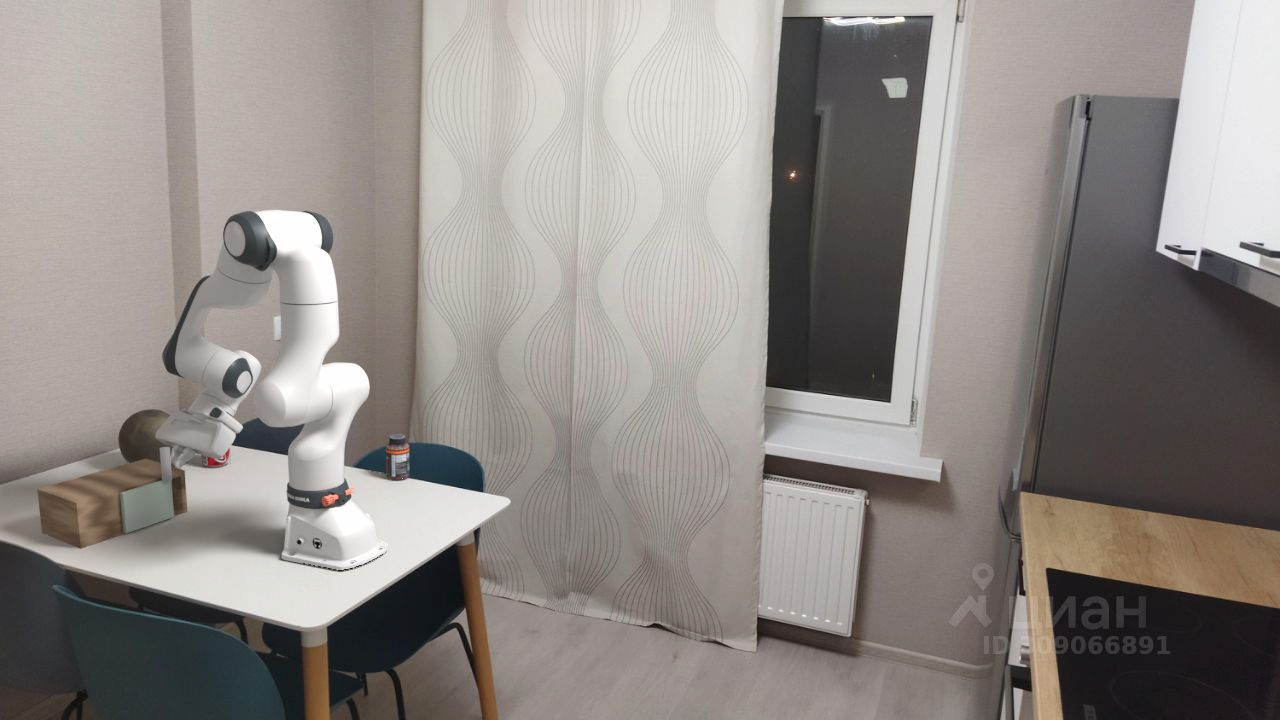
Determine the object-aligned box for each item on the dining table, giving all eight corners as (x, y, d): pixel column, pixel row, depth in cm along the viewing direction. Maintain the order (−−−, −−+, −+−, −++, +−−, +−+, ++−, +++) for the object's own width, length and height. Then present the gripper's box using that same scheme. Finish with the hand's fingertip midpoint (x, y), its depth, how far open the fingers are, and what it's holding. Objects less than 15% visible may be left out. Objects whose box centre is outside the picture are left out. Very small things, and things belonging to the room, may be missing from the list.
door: (171, 515, 197) (166, 446, 193) (176, 517, 196) (171, 447, 192) (123, 532, 187) (117, 459, 184) (129, 534, 186) (123, 461, 183)
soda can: (236, 461, 235) (234, 418, 232) (221, 470, 228) (218, 426, 225) (211, 459, 235) (208, 416, 233) (195, 467, 228) (193, 424, 226)
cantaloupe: (126, 479, 219) (121, 421, 215) (116, 463, 229) (111, 408, 226) (188, 469, 227) (184, 413, 224) (175, 454, 238) (171, 401, 235)
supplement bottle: (385, 474, 230) (384, 433, 228) (408, 472, 233) (407, 432, 230) (387, 482, 225) (386, 440, 223) (410, 480, 227) (410, 438, 225)
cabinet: (149, 498, 207) (146, 458, 205) (187, 511, 201) (184, 470, 199) (41, 532, 186) (37, 488, 184) (80, 548, 180) (76, 503, 178)
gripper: (171, 399, 203) (133, 450, 197) (229, 414, 194) (192, 468, 188) (190, 414, 208) (154, 464, 202) (248, 429, 199) (212, 482, 192)
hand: (173, 466), depth 194 cm, fingers closed, pressing on door
